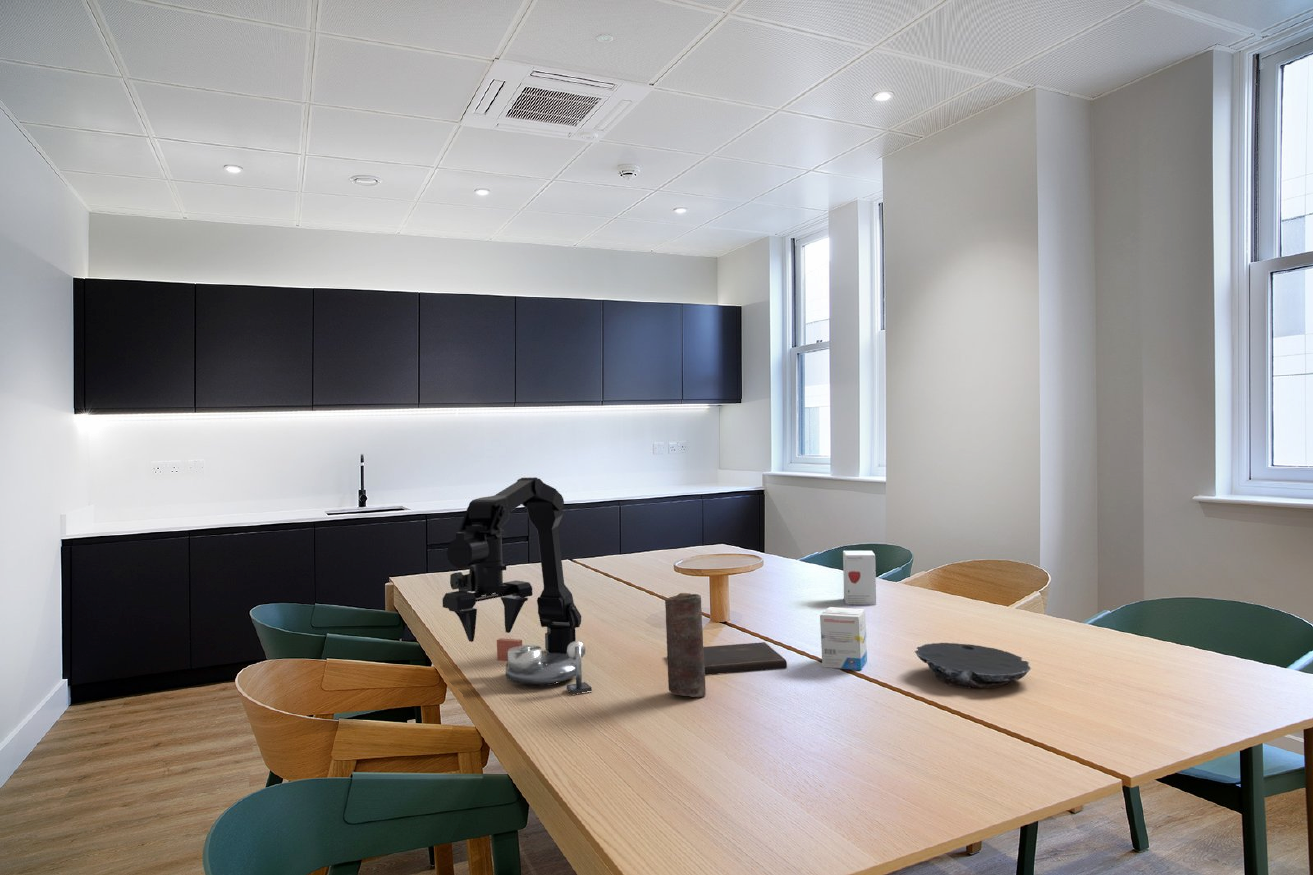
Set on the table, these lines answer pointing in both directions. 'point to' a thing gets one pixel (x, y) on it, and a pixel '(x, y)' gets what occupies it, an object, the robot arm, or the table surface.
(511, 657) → the cover
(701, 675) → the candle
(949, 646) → the dark grey flat disc
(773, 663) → the hardcover book
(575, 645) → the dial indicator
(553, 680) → the turntable
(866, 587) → the supplement box
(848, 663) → the ink box
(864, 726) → the table surface
